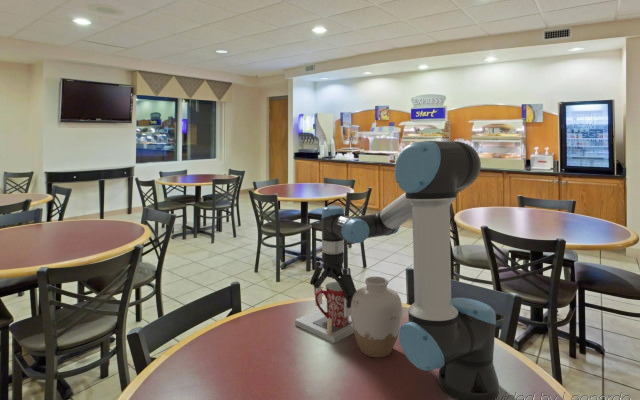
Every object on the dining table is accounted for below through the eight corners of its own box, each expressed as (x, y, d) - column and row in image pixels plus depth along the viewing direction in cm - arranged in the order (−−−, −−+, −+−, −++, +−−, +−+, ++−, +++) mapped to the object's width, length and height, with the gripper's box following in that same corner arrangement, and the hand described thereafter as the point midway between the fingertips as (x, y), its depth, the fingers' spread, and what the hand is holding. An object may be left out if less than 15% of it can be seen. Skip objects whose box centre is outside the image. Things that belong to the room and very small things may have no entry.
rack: (376, 320, 141) (376, 302, 140) (334, 343, 124) (334, 322, 123) (338, 305, 154) (338, 289, 153) (295, 324, 137) (294, 306, 136)
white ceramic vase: (362, 333, 131) (363, 269, 128) (407, 345, 123) (409, 277, 120) (341, 354, 118) (342, 283, 115) (390, 369, 110) (392, 293, 107)
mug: (350, 316, 138) (350, 281, 137) (352, 328, 129) (352, 290, 128) (315, 317, 138) (315, 281, 137) (315, 328, 129) (314, 290, 128)
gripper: (368, 256, 125) (367, 317, 128) (314, 243, 142) (315, 297, 145) (354, 260, 120) (353, 324, 122) (300, 246, 137) (300, 303, 140)
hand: (332, 310), depth 134 cm, fingers open, 13 cm apart
